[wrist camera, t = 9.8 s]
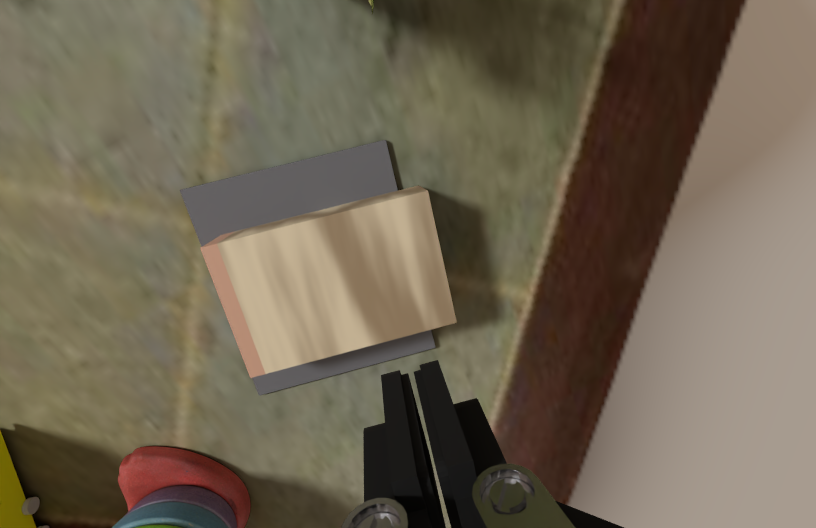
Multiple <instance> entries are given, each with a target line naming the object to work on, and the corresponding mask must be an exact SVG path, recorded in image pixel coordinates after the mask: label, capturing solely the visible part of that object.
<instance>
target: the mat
mask: <svg viewBox="0 0 816 528" xmlns="http://www.w3.org/2000/svg"><path fill="white" fill-rule="evenodd" d="M394 191H398V189H397V185H396V181H395V177H394V173H393V168H392V164H391V160H390V156H389V152H388V147H387V143H386V140H383V141H379V142H375V143H371V144H366V145H362V146H358V147H354V148H350V149H346V150H342V151H338V152H334V153H330V154H326V155H321V156H317V157H313V158H309V159H305V160H301V161H297V162H293V163H289V164H285V165H280V166H276V167H272V168H268V169H264V170H260V171H256V172H252V173H248V174H244V175H239V176H235V177H231V178H227V179H223V180H219V181H215V182H211V183H207V184H203V185H199V186H194V187H190V188H186V189H182V190H180V192H181V194H182V197H183V200H184V202H185V205H186V207H187V210H188V213H189V215H190V218H191V220H192V223H193V226H194V228H195V231H196V233H197V236H198V239H199V241H200V244H201V246H204V245H206V244H207V243H209V242H211V241H212V240H214V239H215V238H217V237H219V236H220V235H223V234H227V233H231V232H235V231H239V230H243V229H247V228H251V227H255V226H259V225H263V224H267V223H271V222H275V221H279V220H283V219H287V218H291V217H295V216H299V215H303V214H307V213H311V212H315V211H319V210H323V209H327V208H331V207H335V206H339V205H343V204H347V203H351V202H355V201H359V200H363V199H367V198H370V197H374V196H378V195H382V194H386V193H390V192H394ZM433 348H435V344H434V340H433V335H432V331H431V330H428V331H424V332H420V333H416V334H413V335H409V336H405V337H401V338H398V339H394V340H390V341H387V342H383V343H379V344H375V345H372V346H368V347H364V348H361V349H357V350H353V351H349V352H346V353H342V354H338V355H335V356H331V357H327V358H323V359H320V360H316V361H312V362H309V363H305V364H301V365H297V366H294V367H290V368H286V369H283V370H279V371H275V372H271V373H268V374H264V375H260V376H256V377H253V378H252V379H253V381H254V384H255V387H256V389H257V392H258V394H259V395H263V394H267V393H270V392H274V391H278V390H281V389H285V388H289V387H292V386H296V385H300V384H303V383H307V382H311V381H315V380H318V379H322V378H326V377H329V376H333V375H337V374H340V373H344V372H348V371H351V370H355V369H359V368H362V367H366V366H370V365H374V364H377V363H381V362H385V361H388V360H392V359H396V358H399V357H403V356H407V355H410V354H414V353H418V352H421V351H425V350H429V349H433Z"/></svg>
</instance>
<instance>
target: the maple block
mask: <svg viewBox="0 0 816 528" xmlns="http://www.w3.org/2000/svg"><path fill="white" fill-rule="evenodd" d="M200 249H201V251H202V254H203V256H204V259H205V261H206V264H207V267H208V269H209V272H210V274H211V277H212V280H213V282H214V285H215V287H216V290H217V293H218V295H219V298H220V300H221V303H222V305H223V308H224V311H225V313H226V316H227V318H228V321H229V324H230V326H231V329H232V331H233V334H234V336H235V339H236V342H237V344H238V347H239V349H240V352H241V355H242V357H243V360H244V362H245V365H246V368H247V370H248V373H249V375H250V378H253V377H256V376H260V375H264V374H268V373H271V372H275V371H279V370H283V369H286V368H290V367H294V366H297V365H301V364H305V363H309V362H312V361H316V360H320V359H323V358H327V357H331V356H335V355H338V354H342V353H346V352H349V351H353V350H357V349H361V348H364V347H368V346H372V345H375V344H379V343H383V342H387V341H390V340H394V339H398V338H401V337H405V336H409V335H413V334H416V333H420V332H424V331H428V330H431V329H435V328H439V327H442V326H446V325H450V324H454V323H457V321H456V317H455V312H454V308H453V303H452V299H451V294H450V289H449V285H448V280H447V276H446V271H445V267H444V262H443V258H442V253H441V248H440V244H439V239H438V235H437V230H436V226H435V221H434V216H433V212H432V207H431V203H430V198H429V194H428V190H426V189H424V188H422V187H420V186H419V185H418V186H414V187H410V188H406V189H402V190H398V191H394V192H390V193H386V194H382V195H378V196H374V197H370V198H367V199H363V200H359V201H355V202H351V203H347V204H343V205H339V206H335V207H331V208H327V209H323V210H319V211H315V212H311V213H307V214H303V215H299V216H295V217H291V218H287V219H283V220H279V221H275V222H271V223H267V224H263V225H259V226H255V227H251V228H247V229H243V230H239V231H235V232H231V233H227V234H223V235H220V236H219V237H217V238H215V239H214V240H212V241H211V242H209V243H207V244H206V245H204V246H202V247H201V248H200Z"/></svg>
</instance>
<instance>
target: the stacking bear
mask: <svg viewBox="0 0 816 528" xmlns="http://www.w3.org/2000/svg"><path fill="white" fill-rule="evenodd" d="M118 483H119V486H120V488H121V491H122V493H123V495H124V497H125V499H126V502H127V505H128V513H127V514H126V515H125V516H124V517H123V518H122V519H120V520H119V521H118V522H117V523H116V524H115V525H114V526H113V527H112V528H244V527H245V525H246V523H247V521H248V518H249V514H250V507H251V504H250V497H249V493H248V491H247V488H246V487H245V485H244V483H243V482H242V481H241V479H240V478H239V477H238V476H237V475H236V474H235V473H233V472H232V471H231V470H229V469H228V468H226V467H225V466H223V465H221V464H220V463H218V462H216V461H214V460H212V459H210V458H207V457H205V456H202V455H199V454H196V453H193V452H190V451H186V450H182V449H177V448H169V447H158V446H147V447H140V448H137V449H135V450H134V452H133V453H131V454H129V455H127V456H126V457H125V458H124V459H123V461H122V463H121V465H120V468H119V476H118Z"/></svg>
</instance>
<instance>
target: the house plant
mask: <svg viewBox="0 0 816 528" xmlns="http://www.w3.org/2000/svg"><path fill="white" fill-rule="evenodd" d="M368 1H369V3H370V5H371V7H372V13H373V3H374V0H368Z"/></svg>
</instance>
